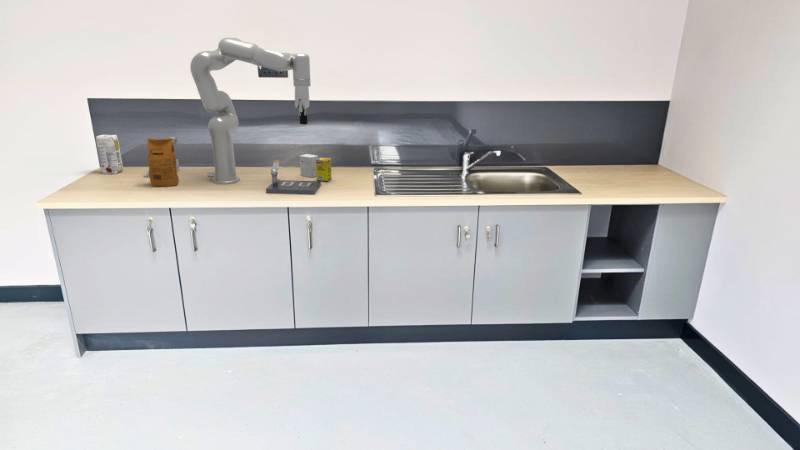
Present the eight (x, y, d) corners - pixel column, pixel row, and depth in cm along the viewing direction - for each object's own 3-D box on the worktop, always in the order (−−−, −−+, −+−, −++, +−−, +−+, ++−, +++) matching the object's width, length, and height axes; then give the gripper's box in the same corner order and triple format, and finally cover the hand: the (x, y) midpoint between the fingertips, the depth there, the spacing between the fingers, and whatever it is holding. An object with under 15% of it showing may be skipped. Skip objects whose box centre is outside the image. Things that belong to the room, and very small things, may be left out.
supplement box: (328, 182, 245) (327, 160, 241) (316, 181, 246) (315, 159, 243) (331, 179, 251) (331, 158, 247) (320, 178, 252) (319, 157, 248)
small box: (319, 175, 257) (318, 155, 254) (312, 177, 253) (311, 157, 249) (307, 173, 261) (306, 153, 258) (300, 175, 257) (299, 155, 253)
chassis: (266, 193, 225) (265, 179, 223) (275, 184, 241) (274, 170, 238) (314, 194, 225) (314, 180, 223) (321, 185, 240) (320, 172, 238)
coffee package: (154, 181, 240) (147, 136, 232) (181, 181, 242) (175, 136, 234) (147, 187, 231) (140, 140, 223) (176, 187, 232) (169, 139, 225)
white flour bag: (117, 174, 251) (110, 136, 245) (100, 174, 251) (93, 136, 245) (125, 171, 258) (119, 134, 252) (108, 170, 258) (102, 133, 252)
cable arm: (277, 175, 229) (277, 170, 229) (270, 175, 229) (270, 170, 228) (280, 165, 248) (279, 160, 248) (273, 165, 248) (273, 160, 247)
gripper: (297, 81, 231) (299, 121, 237) (289, 83, 217) (291, 126, 223) (313, 81, 231) (315, 121, 237) (306, 84, 217) (308, 126, 223)
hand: (303, 123), depth 230 cm, fingers closed
